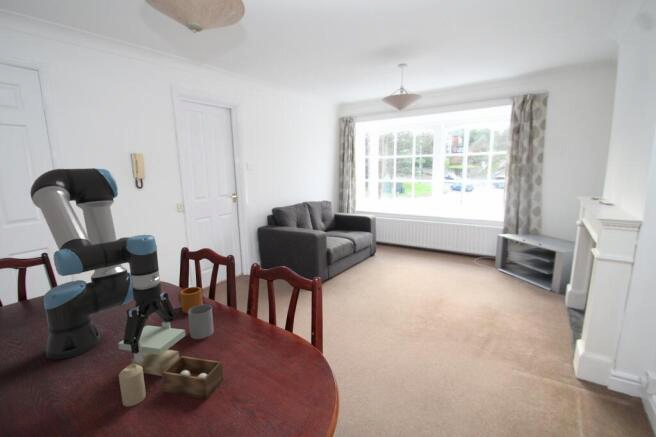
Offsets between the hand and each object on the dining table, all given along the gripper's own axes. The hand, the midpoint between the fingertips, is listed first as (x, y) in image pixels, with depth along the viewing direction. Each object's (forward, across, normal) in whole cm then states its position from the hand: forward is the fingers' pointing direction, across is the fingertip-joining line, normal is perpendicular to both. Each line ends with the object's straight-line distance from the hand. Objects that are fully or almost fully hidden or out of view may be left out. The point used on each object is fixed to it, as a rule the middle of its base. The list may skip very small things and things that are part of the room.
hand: (154, 349), depth 97 cm
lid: (-3, 0, 0) cm, 3 cm away
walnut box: (+6, -5, -18) cm, 19 cm away
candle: (+6, -13, -5) cm, 15 cm away
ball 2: (+4, -5, -21) cm, 22 cm away
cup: (+6, +21, -2) cm, 22 cm away
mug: (+6, +39, +17) cm, 43 cm away
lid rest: (+6, 0, 0) cm, 6 cm away
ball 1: (+4, -5, -15) cm, 16 cm away
